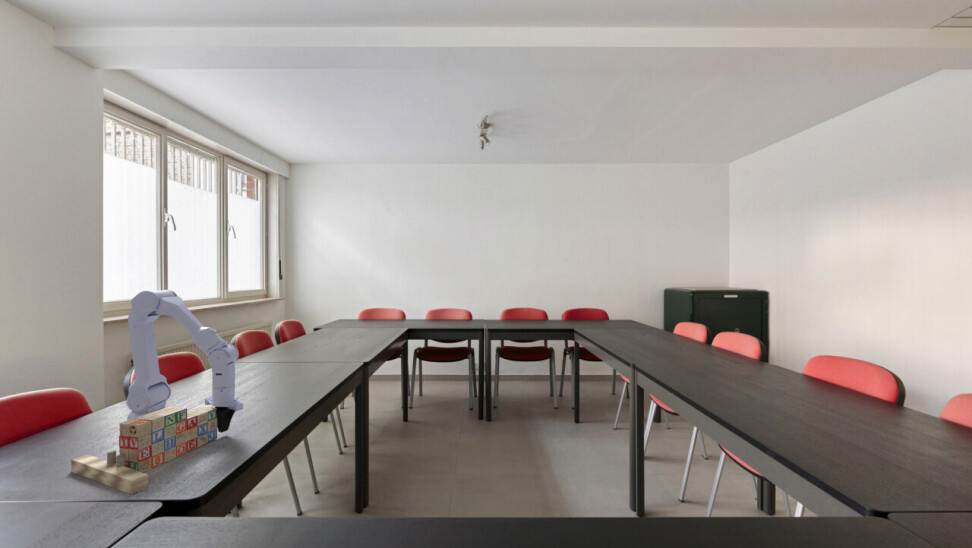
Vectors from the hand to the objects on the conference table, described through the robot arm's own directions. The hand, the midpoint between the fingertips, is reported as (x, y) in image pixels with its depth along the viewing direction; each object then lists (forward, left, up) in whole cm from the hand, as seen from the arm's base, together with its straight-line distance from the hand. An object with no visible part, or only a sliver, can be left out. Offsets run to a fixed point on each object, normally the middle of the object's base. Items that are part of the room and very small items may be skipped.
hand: (223, 431), depth 117 cm
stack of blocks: (0, -13, -2) cm, 13 cm away
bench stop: (0, -27, -1) cm, 27 cm away
